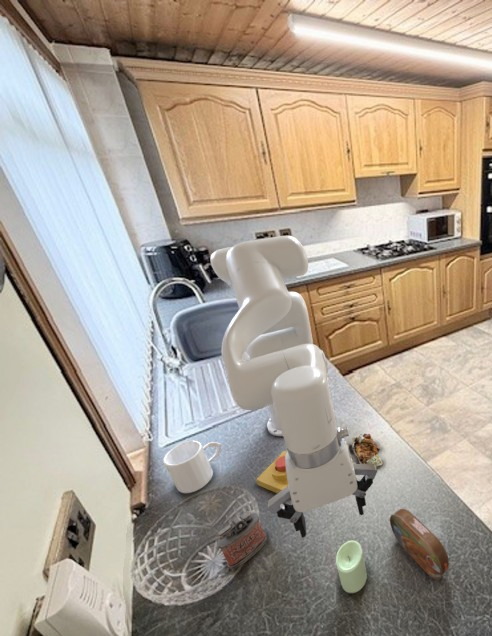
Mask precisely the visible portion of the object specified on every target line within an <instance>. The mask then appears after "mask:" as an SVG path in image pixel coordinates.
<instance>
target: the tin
mask: <svg viewBox="0 0 492 636" xmlns="http://www.w3.org/2000/svg"><path fill="white" fill-rule="evenodd" d="M389 525H390V528H391V530H392V533H393V535H394V537H395V539H396V541H397V543H399V545H400V546H401V547H402V549H404V550H405V552H406V553H408V555H409V556H410V557H411V558H412V559H413V560H414V561H415V562H416V563H417V564H418V565H419V566H420V568H421V569H422V570H423V571H424V572H425V573H426V574H427V575H428V576H429V577H430V578H432V579H434V580H440V579H441V578H442V577H443V575H444V574H445V573H447V571H448V570H449V567H450V566H449V565H450V562H449V561H450V560H449V556H448V553H447V550H446V549H445V547H444V545H443V543H442V542H441V541H440V540H439V538H438V537H437V536H436V535H435V534H434V533H433V532H432V531H431V530H430V529H429V528H428V527H427V526H426V525H425V524H424V523H423V522H422V521H420V520H419V519H418V518H417V517H416V516H415V515H414V514H413V513H412V512H411V511H409V510H408V509H406V508H400V509H398V510H397V511H396V512H395V513H393V514H391V515H390V517H389Z"/></svg>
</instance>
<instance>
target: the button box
mask: <svg viewBox="0 0 492 636" xmlns="http://www.w3.org/2000/svg"><path fill="white" fill-rule="evenodd" d="M286 453H287V450H284V451H282V452H281V453H280V454H279V456H278V457H276V459H274V461H272V463H271V464H270V465H268V467H267V468H265V470H264V471H263V472H262V473H261V474H260V475H259V476H258V477H256V478H255V480H256V484H257V486H259V487H261V488H263V489H265V490H268V491H271V492H272V493H275V494H278V493H279V492H280V491H282V490H283V489H284V488H286V487H287V486H288V481H287V474H286V471H283V472H279V471H278V470H277V468H276V465H275V462H276V460H277V459H278V458H280V457H282V456H285V455H286Z"/></svg>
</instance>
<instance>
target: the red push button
mask: <svg viewBox="0 0 492 636" xmlns="http://www.w3.org/2000/svg"><path fill="white" fill-rule="evenodd" d="M277 458H278V457H277ZM277 458H276V459H277ZM276 459H275V460H276ZM275 465H276V468H277V470H278V471H279V472H283V471H286V466H285V456H282V457H280V458H278V459H277V460H276V462H275Z"/></svg>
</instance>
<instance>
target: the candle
mask: <svg viewBox="0 0 492 636" xmlns="http://www.w3.org/2000/svg"><path fill="white" fill-rule="evenodd" d="M365 563H366V562H365V557H364V553H363V548H362V546H361V543H359V542H358V541H356V540H347V541H346V542H344V543H342V545H341V546H340V547H339V549H338V550H337V552H336V555H335V566H336V569H337V573H338V578H339V581H340V585H341V587H342V590H343V591H345V592H346V593H348V594H355V593H357V592H359V591H361V589H363V587H365V585H366V582H367V579H368V573H367V568H366V564H365Z"/></svg>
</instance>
